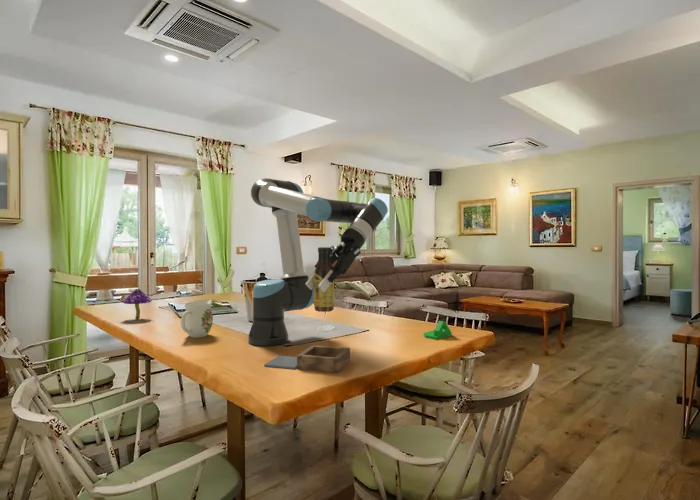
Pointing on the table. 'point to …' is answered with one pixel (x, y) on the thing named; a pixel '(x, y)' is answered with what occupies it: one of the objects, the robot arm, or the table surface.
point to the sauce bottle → (321, 299)
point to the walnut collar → (323, 358)
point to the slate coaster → (283, 362)
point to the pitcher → (197, 318)
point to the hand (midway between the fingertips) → (314, 287)
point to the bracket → (439, 331)
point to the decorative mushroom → (137, 300)
